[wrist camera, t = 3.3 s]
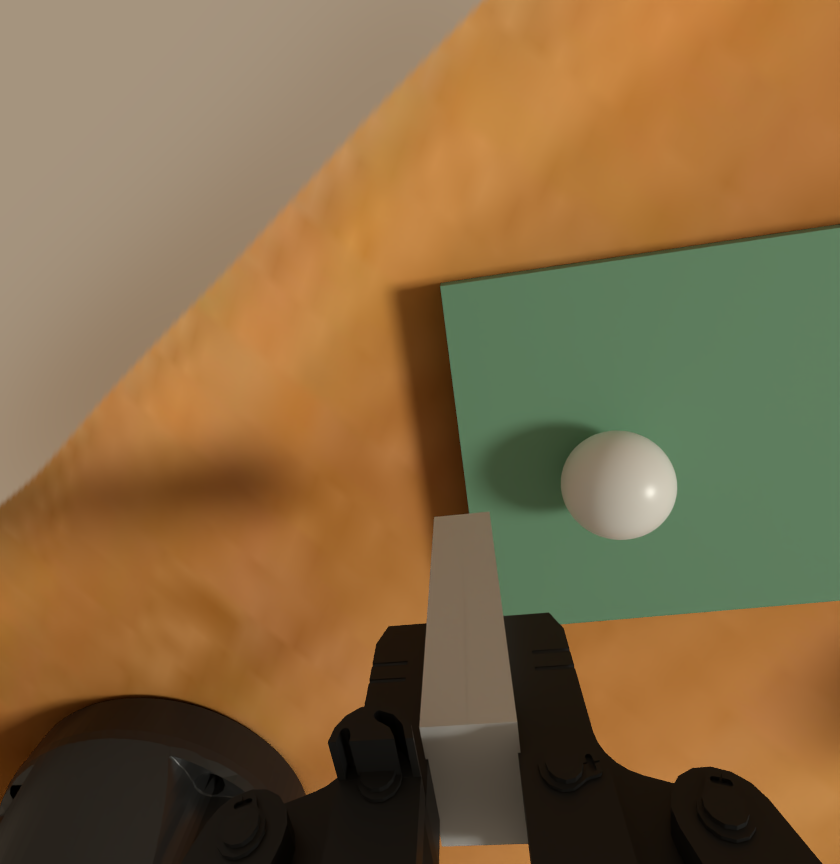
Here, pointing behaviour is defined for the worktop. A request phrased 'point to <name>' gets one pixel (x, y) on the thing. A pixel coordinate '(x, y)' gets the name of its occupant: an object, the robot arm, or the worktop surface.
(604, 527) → the ball
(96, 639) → the worktop surface
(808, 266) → the mat
